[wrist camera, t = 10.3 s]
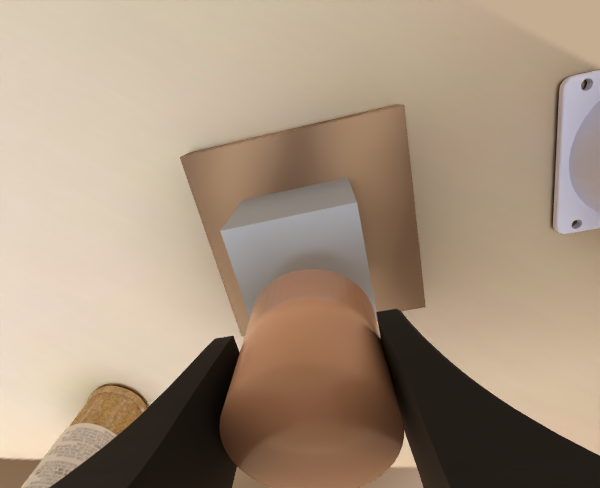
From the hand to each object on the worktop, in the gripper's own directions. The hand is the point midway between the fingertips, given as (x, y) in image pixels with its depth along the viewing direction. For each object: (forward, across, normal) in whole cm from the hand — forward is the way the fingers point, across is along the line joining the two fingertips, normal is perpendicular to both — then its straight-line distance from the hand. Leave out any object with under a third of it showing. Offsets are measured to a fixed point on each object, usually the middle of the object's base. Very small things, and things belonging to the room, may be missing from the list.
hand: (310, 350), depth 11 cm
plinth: (+10, 0, 0) cm, 10 cm away
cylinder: (+2, 0, 0) cm, 2 cm away
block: (+9, 0, 0) cm, 9 cm away
